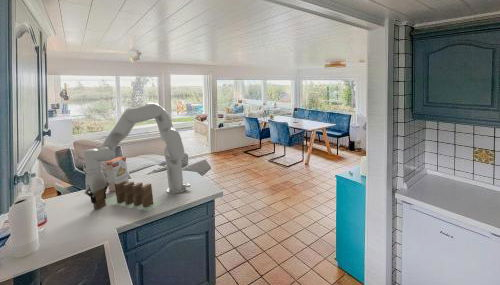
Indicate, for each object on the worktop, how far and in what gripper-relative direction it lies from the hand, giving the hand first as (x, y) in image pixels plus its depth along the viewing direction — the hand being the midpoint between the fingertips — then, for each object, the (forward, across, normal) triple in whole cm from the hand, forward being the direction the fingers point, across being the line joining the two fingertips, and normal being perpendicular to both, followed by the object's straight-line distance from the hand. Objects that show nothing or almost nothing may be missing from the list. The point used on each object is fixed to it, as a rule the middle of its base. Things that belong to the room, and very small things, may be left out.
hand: (99, 200), depth 160 cm
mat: (+5, -11, +13) cm, 17 cm away
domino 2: (+4, -11, +6) cm, 13 cm away
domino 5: (+4, -11, +26) cm, 28 cm away
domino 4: (+4, -11, +19) cm, 22 cm away
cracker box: (+5, -28, -15) cm, 32 cm away
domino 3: (+4, -11, +13) cm, 17 cm away
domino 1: (+5, 0, 0) cm, 5 cm away
